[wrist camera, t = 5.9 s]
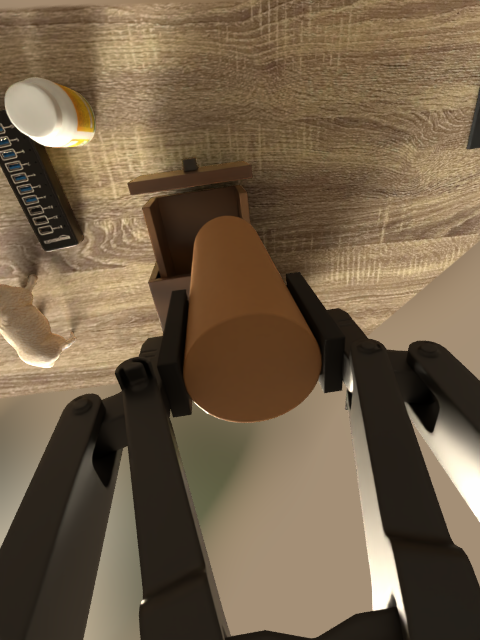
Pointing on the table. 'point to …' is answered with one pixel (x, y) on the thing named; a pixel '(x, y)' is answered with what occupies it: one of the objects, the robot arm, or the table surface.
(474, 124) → the mat
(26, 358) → the figurine
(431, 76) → the table surface
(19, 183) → the multiport hub
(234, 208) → the drawer
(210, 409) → the brown cylinder
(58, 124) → the supplement bottle
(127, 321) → the table surface
